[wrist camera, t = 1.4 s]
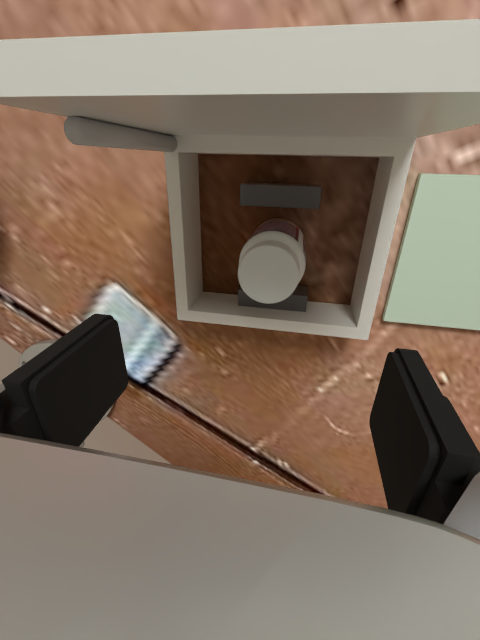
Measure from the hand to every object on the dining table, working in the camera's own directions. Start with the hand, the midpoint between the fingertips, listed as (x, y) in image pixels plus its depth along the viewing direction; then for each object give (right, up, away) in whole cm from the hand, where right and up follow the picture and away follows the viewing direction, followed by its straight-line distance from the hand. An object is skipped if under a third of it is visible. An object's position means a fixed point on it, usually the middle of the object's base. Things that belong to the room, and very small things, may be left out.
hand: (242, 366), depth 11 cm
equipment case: (+3, +9, +16) cm, 19 cm away
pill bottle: (+3, +8, +17) cm, 19 cm away
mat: (+18, +7, +14) cm, 24 cm away
